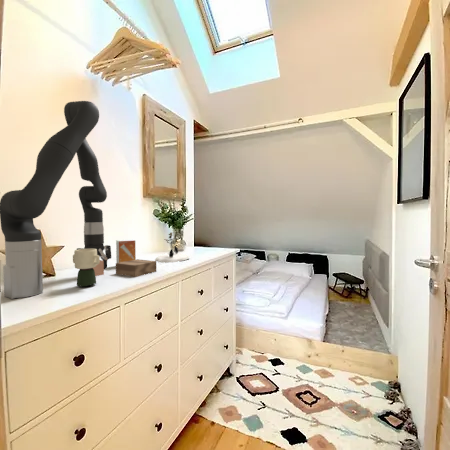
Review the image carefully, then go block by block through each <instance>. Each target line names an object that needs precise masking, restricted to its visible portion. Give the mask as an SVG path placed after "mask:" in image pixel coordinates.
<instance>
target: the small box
mask: <svg viewBox="0 0 450 450" xmlns="http://www.w3.org/2000/svg"><path fill="white" fill-rule="evenodd" d="M115 245H116V249H115V250H116V251H115V252H116V253H115V256H116V259H115V260H116V261H115V262H116V263H120V262H126V261H131V260H137V259H136V240H135V239H117V240H115Z"/></svg>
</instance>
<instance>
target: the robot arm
mask: <svg viewBox="0 0 450 450" xmlns="http://www.w3.org/2000/svg"><path fill="white" fill-rule="evenodd" d="M63 114H64V118H65V121H66V124H67V125H66V126H65V127H64V128H62V129H60V130H59V131H57V132H56V133H54V134H53V135H52V136H50V137H49V138H48V140H46V142H45V143H44V144H43V146H42V148H41V149H40V150H39V152H38V155H37V158H36V164H35V165H36V166H35V171H34V174H33V176H32V177H31V178H30V180H29V181H28V183H27V184H26V185H25V186H24V187H23V188H22V189H15V190H10V191H7V192H5V193H4V194H3V195H2V196H1V197H0V229H1V233H2V235H4V236H3V237H4V247H5V248H4V251H5V252H4V253H5V254H4V256H5V265H3V267H2V268H3V269H2V271H3V272H2V274H3V275H2V276H3V296H4V297H6V298H8V299H11V300H13V299H17V298H18V299H21V298H27V297H32V296H36V295H40V294H41V293H43V292H44V283H43V251H42V249H43V247H42V246H43V245H42V232H41V231H40V230H39V229H38V228H37V227H36V226H35V224H34V219H37V218H38V217H40V216H42V215H43V213H44V212H45V210H46V208H47V206H48V205H49V202H50V200H51V198H52V195H53V193H54V191H55V188H57V185H58V183H59V182H60V180H61V179H62V178H63V177H62V176H63V175H64V174H65V173H66V170H67V168H68V167H69V166H70V164H71V163H72V162H73V160H74V158H75V156H76V157H77V161H78V167H79V172H80V173H79V174H80V178H81V179H82V180H83V181H87V182H90V183H91V184H92V185H83V186H82V187H80V189H79V192H78V198H79V201H80V204H81V206H82V207H81V208H82V211H83V218H84V220H83V221H84V223H83V244H84V247H83V248H82V247H78V248H76V250H79V249H97V255H99V257H100V260H102V261H104V270H107V268H108V260H110V259H112V248H111V247H112V246H111V245H110V244H109V245H108V244H106V245H104V243H105V241H104V240H105V238H104V237H105V236H104V235H105V233H104V231H105V229H104V220H103V219H104V218H103V216H104V215H103V214H104V213H103V210H102V209H101V208H96V207H94V206H93V203H96V204H97V203H100V204H101V203H104V202H105V201H106V199H107V197H108V193H107V190H106V187H105V185H104V183H103V180H102V178H101V175H100V170H99V169H100V168H99V161H98V158H97V156H96V153H95V152H94V151H93V149H92V147H91V146H90V144H89V143H88V140H87V137H88V135H90V133H91V132H92V131H93V130H94V128H95V127H96V125H97V124H98V123H99V119H100V112H99V108H98V106H97V105H96V104H95V103H94V102H92V101H89V100H78V101H76V100H75V101H69V102H67V103H65V105H64V108H63Z"/></svg>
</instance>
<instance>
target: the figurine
mask: <svg viewBox="0 0 450 450" xmlns="http://www.w3.org/2000/svg"><path fill="white" fill-rule="evenodd" d="M172 237H173V232H169V233H168V239H166V238H165V239H164V240H165V242H166V243H167V244H170V245H171V246H170V247H173V244H175V245H174V249H173V248H171V249H170V251H169V252H168V253H164V254H163V253H162V254H160V255H158V256H157V257H156V258H155V259H154V261H156V262H157V261H158V262H159V263H178V261H179V262H183V261H186V260H188V259H190V256H189V254H188V253H182V252H179V249H178V247H177V245H176V239H177V236H174V238H172Z"/></svg>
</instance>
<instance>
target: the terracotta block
mask: <svg viewBox="0 0 450 450" xmlns="http://www.w3.org/2000/svg"><path fill="white" fill-rule="evenodd" d="M93 269H94V271H95V277H97V276H102V275H103V276H104V273H105V271H104V261H103V260H102V259H100V263H99V264H97V265H96V267H93Z"/></svg>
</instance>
